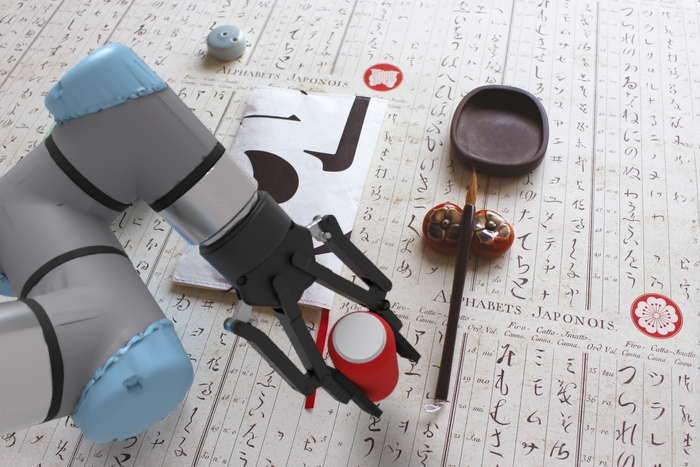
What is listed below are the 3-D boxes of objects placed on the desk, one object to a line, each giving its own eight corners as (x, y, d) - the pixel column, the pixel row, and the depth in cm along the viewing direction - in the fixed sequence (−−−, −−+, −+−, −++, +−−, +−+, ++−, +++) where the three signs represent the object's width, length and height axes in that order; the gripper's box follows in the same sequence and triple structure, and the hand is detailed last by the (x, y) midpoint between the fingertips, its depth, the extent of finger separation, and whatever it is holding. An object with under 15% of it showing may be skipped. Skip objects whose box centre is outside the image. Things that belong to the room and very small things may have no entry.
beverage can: (357, 339, 62) (344, 294, 52) (408, 363, 60) (405, 320, 50) (331, 389, 59) (311, 351, 49) (384, 415, 57) (375, 382, 47)
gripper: (282, 147, 53) (421, 305, 61) (135, 300, 46) (315, 453, 55) (320, 135, 46) (469, 313, 55) (156, 311, 39) (356, 482, 48)
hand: (392, 383), depth 55 cm, fingers closed on beverage can, 6 cm apart
